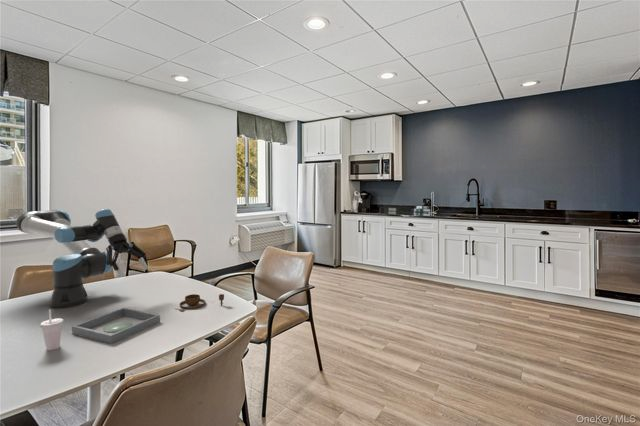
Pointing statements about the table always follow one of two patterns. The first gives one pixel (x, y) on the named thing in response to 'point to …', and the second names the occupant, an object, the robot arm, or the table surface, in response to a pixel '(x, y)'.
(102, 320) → the grey square frame
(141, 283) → the table surface
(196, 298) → the place setting
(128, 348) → the table surface
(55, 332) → the smoothie
